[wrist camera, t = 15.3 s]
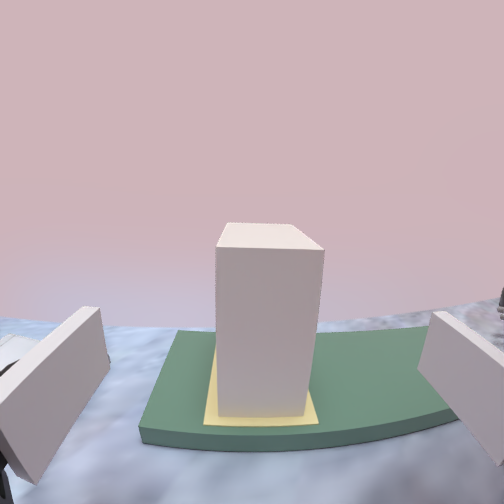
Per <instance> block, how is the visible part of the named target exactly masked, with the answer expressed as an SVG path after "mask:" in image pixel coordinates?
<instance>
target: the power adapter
mask: <svg viewBox="0 0 504 504" xmlns="http://www.w3.org/2000/svg"><path fill="white" fill-rule="evenodd" d="M497 311H498V312H500V313H504V307H500V306H499V307H498V309H497ZM500 319H501V320H504V314H501V316H500Z"/></svg>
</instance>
